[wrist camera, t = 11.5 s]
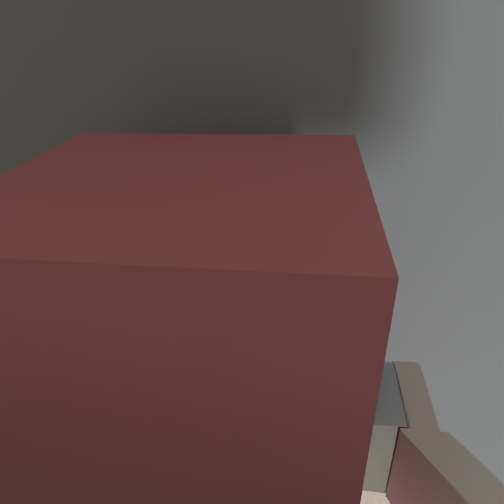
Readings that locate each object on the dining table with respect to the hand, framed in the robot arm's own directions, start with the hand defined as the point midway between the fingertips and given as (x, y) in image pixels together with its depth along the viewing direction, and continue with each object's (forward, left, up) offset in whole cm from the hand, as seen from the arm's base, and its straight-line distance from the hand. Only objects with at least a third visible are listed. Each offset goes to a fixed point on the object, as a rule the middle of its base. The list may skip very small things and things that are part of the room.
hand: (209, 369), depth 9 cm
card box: (0, 0, -2) cm, 2 cm away
